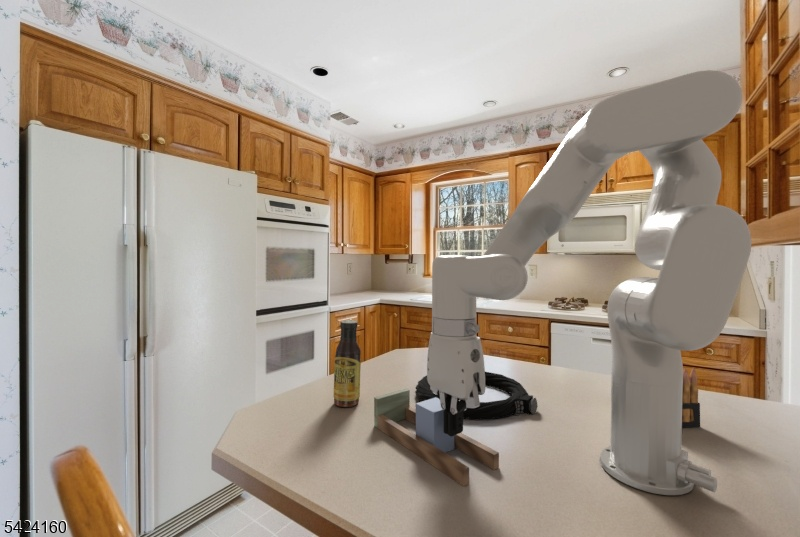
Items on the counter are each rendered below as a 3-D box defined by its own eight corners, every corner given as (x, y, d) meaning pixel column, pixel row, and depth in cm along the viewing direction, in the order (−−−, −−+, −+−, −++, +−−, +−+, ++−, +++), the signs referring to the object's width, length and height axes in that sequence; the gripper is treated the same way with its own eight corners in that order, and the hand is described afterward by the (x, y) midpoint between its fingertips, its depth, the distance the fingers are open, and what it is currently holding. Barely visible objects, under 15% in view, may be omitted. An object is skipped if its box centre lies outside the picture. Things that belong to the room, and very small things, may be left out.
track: (498, 467, 61) (499, 431, 61) (463, 486, 56) (463, 447, 56) (406, 415, 81) (406, 388, 81) (374, 425, 76) (374, 397, 76)
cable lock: (449, 361, 111) (552, 381, 93) (449, 374, 111) (552, 396, 93) (392, 387, 89) (514, 419, 71) (392, 402, 89) (513, 439, 71)
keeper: (454, 448, 67) (454, 405, 66) (433, 457, 64) (433, 412, 63) (435, 438, 71) (435, 397, 70) (415, 446, 68) (415, 403, 67)
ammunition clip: (692, 423, 77) (694, 367, 76) (700, 427, 75) (701, 369, 75) (644, 425, 76) (645, 368, 76) (650, 429, 74) (651, 370, 74)
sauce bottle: (329, 407, 85) (328, 323, 85) (339, 397, 92) (339, 318, 91) (355, 410, 84) (355, 324, 83) (364, 399, 90) (364, 319, 89)
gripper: (503, 331, 59) (502, 443, 59) (439, 319, 71) (439, 412, 71) (472, 337, 54) (471, 458, 55) (409, 323, 66) (409, 423, 67)
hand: (453, 432), depth 63 cm, fingers closed
